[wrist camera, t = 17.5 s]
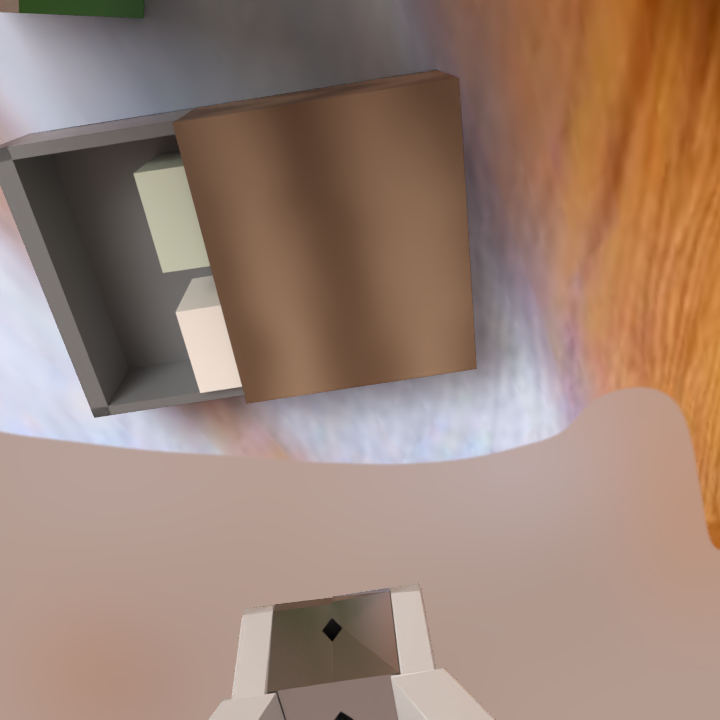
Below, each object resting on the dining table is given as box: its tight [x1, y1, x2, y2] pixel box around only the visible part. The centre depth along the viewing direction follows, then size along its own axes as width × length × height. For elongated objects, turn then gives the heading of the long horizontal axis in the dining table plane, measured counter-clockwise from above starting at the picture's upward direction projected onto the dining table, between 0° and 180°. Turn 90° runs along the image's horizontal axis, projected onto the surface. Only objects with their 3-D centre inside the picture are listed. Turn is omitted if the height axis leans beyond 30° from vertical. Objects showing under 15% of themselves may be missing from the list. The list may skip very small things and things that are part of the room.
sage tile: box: [133, 151, 210, 273], centre depth 33 cm, size 5×5×2 cm
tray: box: [0, 108, 244, 418], centre depth 35 cm, size 9×15×5 cm, turn 8°
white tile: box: [176, 276, 242, 393], centre depth 37 cm, size 5×5×2 cm
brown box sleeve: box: [172, 70, 477, 403], centre depth 35 cm, size 13×15×6 cm
